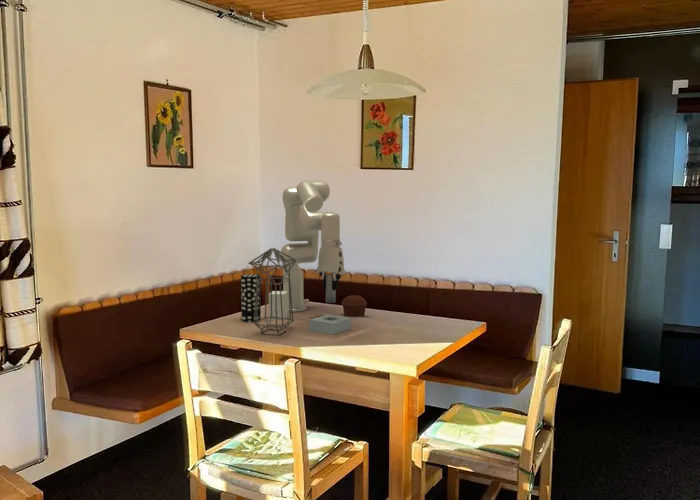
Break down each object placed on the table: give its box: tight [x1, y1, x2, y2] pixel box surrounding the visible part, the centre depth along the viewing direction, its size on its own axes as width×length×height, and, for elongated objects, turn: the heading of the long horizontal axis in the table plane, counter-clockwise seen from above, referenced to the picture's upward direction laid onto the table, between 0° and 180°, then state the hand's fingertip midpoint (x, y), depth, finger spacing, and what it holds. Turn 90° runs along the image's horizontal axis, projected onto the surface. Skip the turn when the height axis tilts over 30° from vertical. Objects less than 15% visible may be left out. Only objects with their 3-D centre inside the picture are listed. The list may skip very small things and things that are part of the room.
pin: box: [325, 271, 337, 304], centre depth 260 cm, size 4×4×14 cm
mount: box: [308, 314, 325, 325], centre depth 275 cm, size 10×8×4 cm
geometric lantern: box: [248, 247, 297, 337], centre depth 261 cm, size 16×16×35 cm
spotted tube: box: [240, 273, 262, 323], centre depth 285 cm, size 8×8×20 cm
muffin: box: [341, 294, 368, 318], centre depth 292 cm, size 12×11×10 cm
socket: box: [309, 314, 352, 336], centre depth 262 cm, size 12×12×6 cm
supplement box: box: [268, 290, 289, 323], centre depth 286 cm, size 7×7×13 cm
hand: (330, 288), depth 260 cm, fingers closed on pin, 4 cm apart
